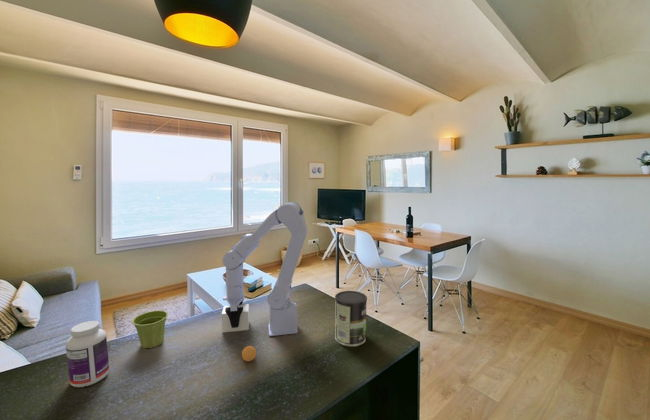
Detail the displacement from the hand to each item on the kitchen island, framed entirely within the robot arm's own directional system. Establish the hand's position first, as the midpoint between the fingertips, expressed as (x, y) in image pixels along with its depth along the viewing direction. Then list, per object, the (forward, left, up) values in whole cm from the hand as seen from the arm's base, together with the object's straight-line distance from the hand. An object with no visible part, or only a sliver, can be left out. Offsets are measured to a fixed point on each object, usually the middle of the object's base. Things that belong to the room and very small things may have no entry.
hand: (236, 321), depth 101 cm
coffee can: (-37, +15, -2) cm, 40 cm away
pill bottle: (+35, +19, -2) cm, 40 cm away
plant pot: (+25, +5, -2) cm, 25 cm away
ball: (-5, +20, 0) cm, 21 cm away
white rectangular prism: (0, 0, -2) cm, 2 cm away
